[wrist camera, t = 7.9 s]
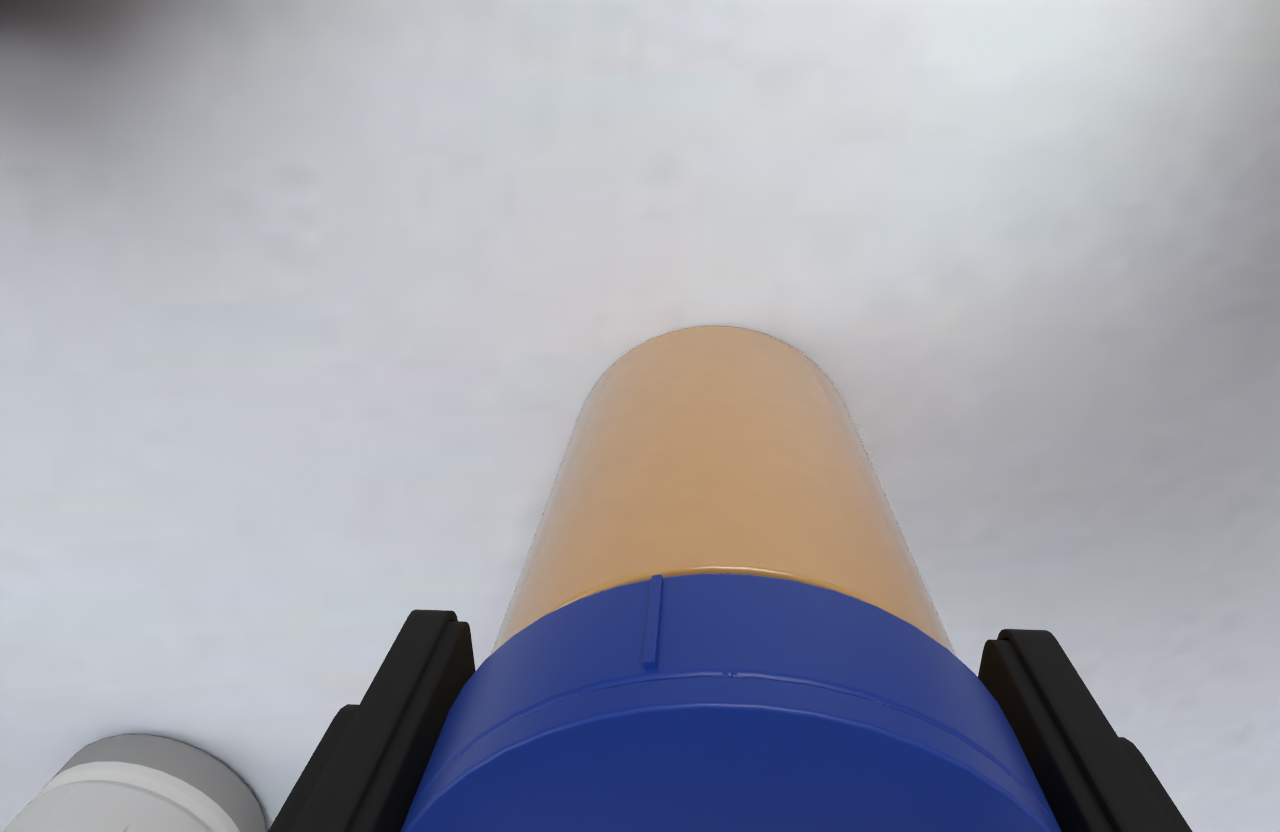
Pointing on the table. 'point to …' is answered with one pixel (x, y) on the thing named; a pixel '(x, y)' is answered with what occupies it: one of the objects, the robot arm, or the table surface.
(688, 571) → the jar
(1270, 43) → the table surface
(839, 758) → the jar lid
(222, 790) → the travel mug
